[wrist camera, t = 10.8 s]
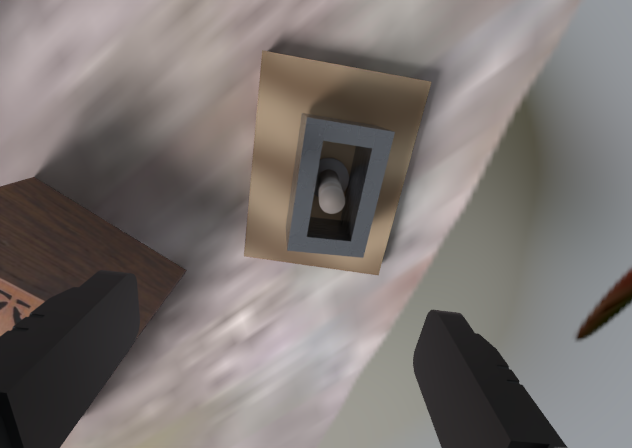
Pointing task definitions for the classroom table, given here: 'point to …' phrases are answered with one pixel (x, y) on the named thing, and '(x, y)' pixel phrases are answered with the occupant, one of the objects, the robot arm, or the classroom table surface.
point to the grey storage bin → (361, 189)
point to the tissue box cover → (67, 253)
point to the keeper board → (326, 151)
